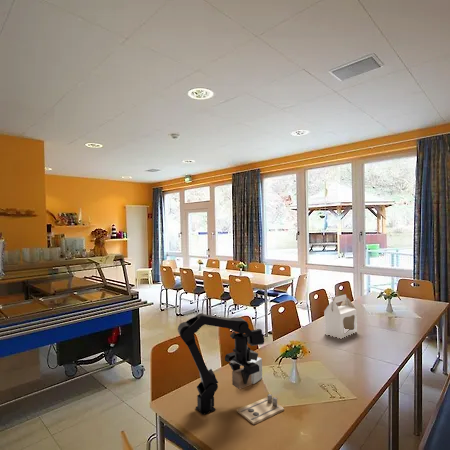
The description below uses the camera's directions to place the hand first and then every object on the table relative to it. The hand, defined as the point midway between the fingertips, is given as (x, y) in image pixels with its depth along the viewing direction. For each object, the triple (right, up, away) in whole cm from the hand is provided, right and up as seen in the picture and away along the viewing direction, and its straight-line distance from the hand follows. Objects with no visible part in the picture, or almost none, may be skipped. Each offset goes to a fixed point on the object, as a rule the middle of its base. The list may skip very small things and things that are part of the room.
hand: (241, 381), depth 139 cm
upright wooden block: (0, -1, 0) cm, 1 cm away
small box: (+7, -10, +21) cm, 24 cm away
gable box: (+78, -10, +89) cm, 119 cm away
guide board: (+8, -9, -7) cm, 14 cm away
